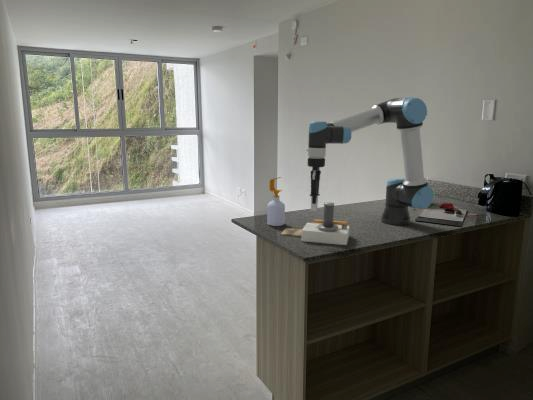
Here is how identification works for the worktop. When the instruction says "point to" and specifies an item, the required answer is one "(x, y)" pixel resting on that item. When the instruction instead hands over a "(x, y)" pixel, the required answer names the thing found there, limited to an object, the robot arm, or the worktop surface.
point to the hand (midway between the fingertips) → (314, 210)
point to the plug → (328, 218)
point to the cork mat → (292, 232)
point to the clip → (333, 222)
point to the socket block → (325, 234)
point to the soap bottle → (275, 208)
